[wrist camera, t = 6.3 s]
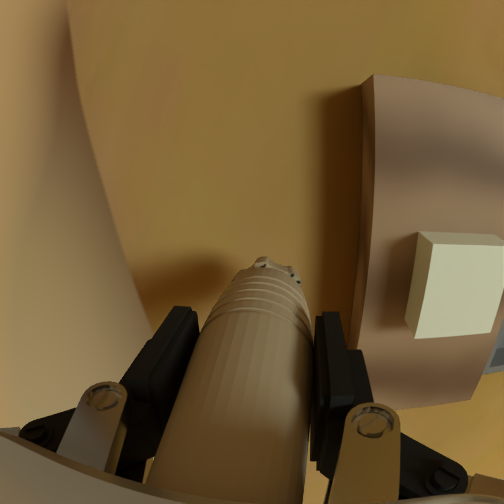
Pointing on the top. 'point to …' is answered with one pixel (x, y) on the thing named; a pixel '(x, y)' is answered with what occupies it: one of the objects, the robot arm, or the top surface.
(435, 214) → the board
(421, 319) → the tile
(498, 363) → the box
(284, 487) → the handle
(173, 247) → the top surface
